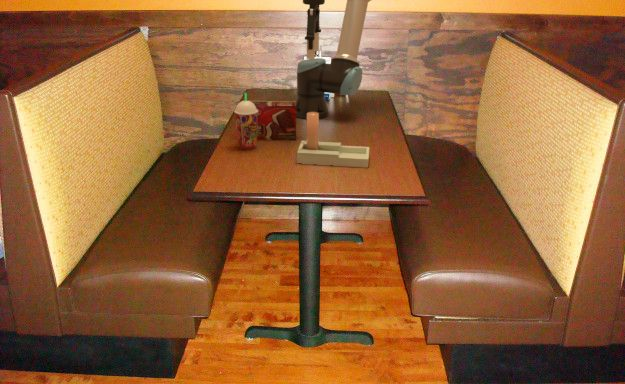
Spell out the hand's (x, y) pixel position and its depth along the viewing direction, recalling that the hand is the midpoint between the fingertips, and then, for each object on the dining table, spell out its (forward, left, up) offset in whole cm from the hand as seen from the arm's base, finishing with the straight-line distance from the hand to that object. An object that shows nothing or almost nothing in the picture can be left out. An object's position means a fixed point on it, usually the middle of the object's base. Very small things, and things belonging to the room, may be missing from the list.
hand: (312, 54), depth 207 cm
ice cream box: (0, -16, -32) cm, 36 cm away
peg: (+19, +2, -31) cm, 36 cm away
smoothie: (+12, -22, -32) cm, 41 cm away
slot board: (+19, +10, -32) cm, 38 cm away
